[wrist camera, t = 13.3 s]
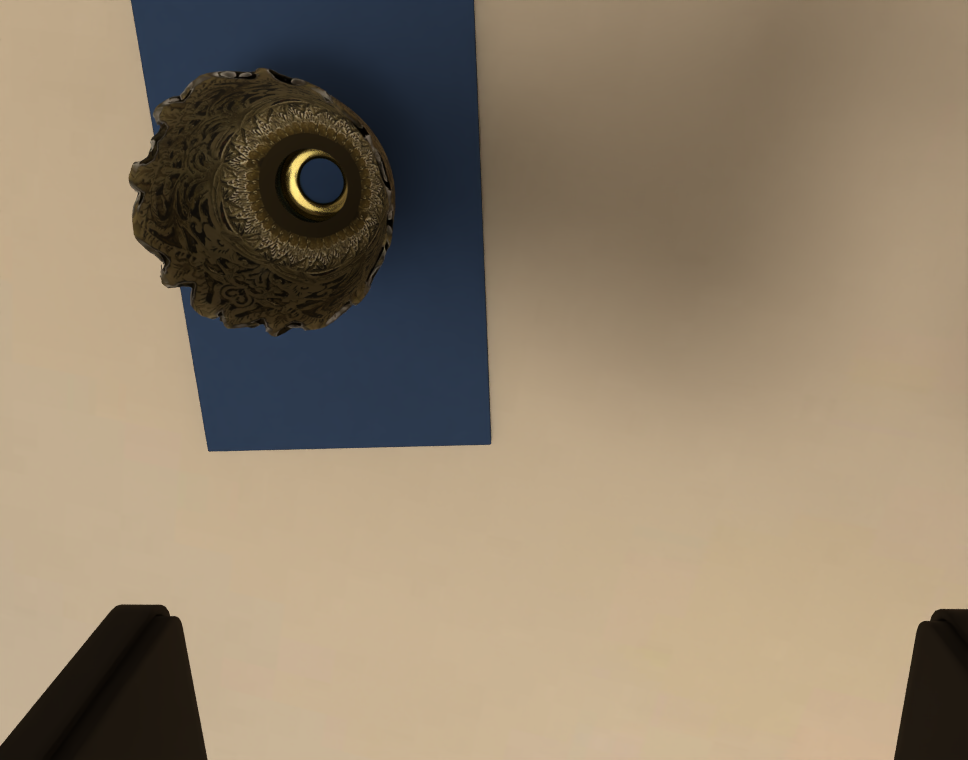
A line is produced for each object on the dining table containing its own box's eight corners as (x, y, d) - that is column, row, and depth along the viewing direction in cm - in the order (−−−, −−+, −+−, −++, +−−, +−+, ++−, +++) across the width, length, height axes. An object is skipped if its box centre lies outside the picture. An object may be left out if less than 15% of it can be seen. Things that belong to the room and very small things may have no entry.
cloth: (467, -171, 26) (466, -175, 26) (491, 441, 34) (490, 445, 33) (109, -152, 27) (103, -155, 26) (211, 447, 34) (208, 452, 34)
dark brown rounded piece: (360, 313, 31) (314, 383, 24) (191, 214, 30) (86, 254, 23) (457, 147, 29) (440, 166, 22) (278, 32, 28) (195, 10, 21)
